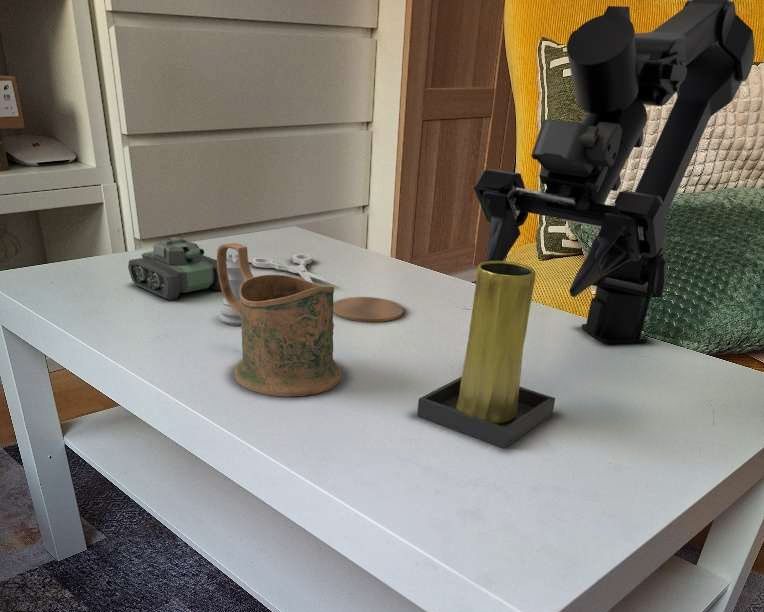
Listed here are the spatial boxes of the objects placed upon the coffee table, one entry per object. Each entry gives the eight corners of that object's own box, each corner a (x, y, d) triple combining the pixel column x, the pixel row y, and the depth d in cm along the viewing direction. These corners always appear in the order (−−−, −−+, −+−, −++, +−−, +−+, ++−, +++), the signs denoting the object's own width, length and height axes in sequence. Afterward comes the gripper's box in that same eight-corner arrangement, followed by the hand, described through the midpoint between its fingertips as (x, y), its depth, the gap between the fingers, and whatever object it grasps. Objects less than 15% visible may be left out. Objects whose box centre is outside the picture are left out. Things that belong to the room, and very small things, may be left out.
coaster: (391, 298, 106) (391, 296, 106) (412, 320, 98) (412, 317, 98) (325, 301, 103) (326, 298, 103) (342, 323, 96) (342, 320, 95)
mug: (265, 333, 91) (262, 232, 84) (362, 378, 81) (367, 267, 74) (183, 354, 84) (172, 245, 77) (279, 406, 74) (276, 285, 67)
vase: (501, 431, 71) (524, 281, 63) (445, 413, 73) (461, 268, 66) (525, 409, 75) (550, 267, 67) (472, 394, 78) (490, 255, 70)
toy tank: (188, 272, 111) (184, 224, 108) (236, 291, 105) (233, 241, 101) (126, 283, 105) (120, 233, 101) (173, 305, 98) (168, 251, 94)
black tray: (469, 387, 80) (471, 370, 79) (552, 415, 75) (555, 398, 74) (416, 415, 74) (418, 398, 72) (504, 448, 69) (507, 430, 68)
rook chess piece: (212, 322, 93) (207, 257, 89) (231, 312, 97) (227, 250, 93) (243, 328, 92) (239, 263, 88) (261, 318, 96) (258, 255, 91)
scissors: (302, 251, 123) (361, 282, 108) (302, 256, 123) (361, 287, 109) (242, 256, 118) (296, 289, 104) (242, 261, 118) (296, 295, 104)
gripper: (496, 76, 70) (420, 212, 69) (691, 93, 61) (608, 251, 60) (523, 160, 80) (456, 281, 78) (694, 186, 71) (623, 324, 69)
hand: (528, 283), depth 71 cm, fingers open, 9 cm apart
